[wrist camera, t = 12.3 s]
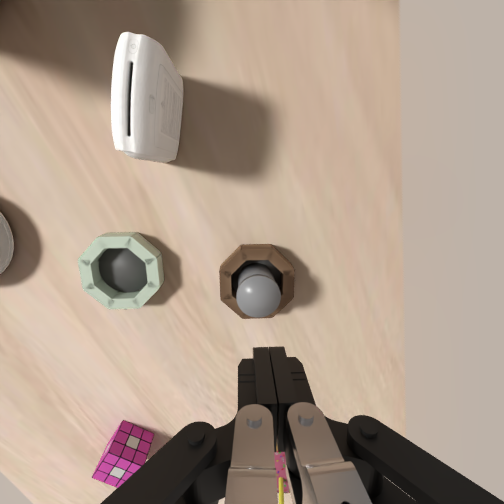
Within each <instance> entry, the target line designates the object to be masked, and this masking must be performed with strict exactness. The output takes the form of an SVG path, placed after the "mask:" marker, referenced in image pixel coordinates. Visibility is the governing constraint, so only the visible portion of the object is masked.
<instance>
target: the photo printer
mask: <svg viewBox="0 0 504 504" xmlns="http://www.w3.org/2000/svg"><path fill="white" fill-rule="evenodd" d="M182 107H183V80H182V77H181V76H180V74H179V73H178V71H177V69H176V68H175V66H174V64H173V63H172V61H171V59H170V57H169V56H168V54H167V52H166V51H165V49H164V47H163V46H162V45H161V44H160V43H159V42H157V41H156V40H154V39H152V38H150V37H148V36H146V35H143V34H134V33H131V32H124V33H122V34H121V35H120V37H119V40H118V43H117V46H116V50H115V56H114V63H113V72H112V86H111V124H112V135H113V140H114V145H115V148H116V150H119V151H123V152H124V153H125V154H127V155H128V156H130V157H132V158H135V159H141V160H148V161H154V162H161V163H166V162H170V161H172V160H175V159H176V156H177V152H178V146H179V139H180V129H181V119H182Z"/></svg>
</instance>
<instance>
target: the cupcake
mask: <svg viewBox="0 0 504 504" xmlns="http://www.w3.org/2000/svg"><path fill="white" fill-rule="evenodd" d="M274 455H275V468H276V478H277V492H278V493H279V504H284V493H290V489H289V485H288V480H287V476H286V458H285V452H278V448H277V447H276V452H274Z"/></svg>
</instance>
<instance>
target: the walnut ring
mask: <svg viewBox="0 0 504 504" xmlns="http://www.w3.org/2000/svg"><path fill="white" fill-rule="evenodd" d="M251 263H261V264H264V265H266V266H267V267H268V268H269V269H270V270H271V271H272V274H273V277H274V280H275V282H276V283H277V285H278V287H279V286H280V288H279V290H280V294H281V300H280V303H279V306H278V307H277V309H276V310H275V311H274V312H273V313H271V314H270V315H268V316H265V317H260V318H272V317H274V316H275V315H276V314H277V313H278V312H279V311H280V310H281V309H282V308H283V307H284V306H286V305H287V304H288V303H289V302H290V301H291V300H292V299H293V298H294V272H295V270H294V268H293V266H292V264H291V263H290V262H289V261H288V260H287V259H286V258H285V257H284V256H283V255H282V254H281V253H280V252H279V251H278V250H277V249H276V248H274V247H273V246H272V245H271V244H249V245H242V246H241V245H240V246H239V247H238V248H237V249H236V250H235V251H234V252H233V253H232V254H231V255H230V256H229V257H228V258H227V259H226V260H225V261H224V262H223V263H222V264H221V266H220V271H219V273H220V297H221V301H222V302H224V303H225V304H226V305H227V306H228V307H229V308H231V309H232V310H233V311H234V312H235V313H236V314H238V315H239V316H240V317H241V318H243V319H250V318H256V317H251V316H248V315H246V314H245V313H244V312H242V311H241V309H240V308H239V306H238V304H237V299H236V296H237V289H238V277H239V273H240V271H241V270H242V269H243V268H244V267H245V266H247V265H248V264H251ZM280 272H281V274H280ZM232 286H233V288H234V290H235V291H234V290H233V289H232Z"/></svg>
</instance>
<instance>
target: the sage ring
mask: <svg viewBox="0 0 504 504" xmlns="http://www.w3.org/2000/svg"><path fill="white" fill-rule="evenodd" d="M100 257H101V258H100ZM99 258H100V260H99ZM78 265H79V271H80V276H81V282H82V287H83V289H84V291H85V292H87V293H88V294H89V295H91V296H92V297H93V298H94V299H96V300H97V301H98V302H100V303H101V304H102V305H104V306H105V307H106V308H108V309H138V308H141V307H142V306H143V305H144V304H145V303H146V302H147V301H148V300H149V298H150V297H151V296H152V295H153V294H154V293H155V292H156V291H157V290H158V289H159V288H160V287H161V285H162V284H163V282H164V272H163V262H162V253H161V252H160V251H159V250H158V249H157V248H155V247H154V246H153V245H152V244H151V243H150V242H148V241H147V240H146V239H145V238H144V237H143V236H141V235H140V234H139V233H137V232H122V233H105V234H103V235H101V236H99V237H97V238H96V239H95V240H94V241H93V243H92V244H91V245H90V246H89V247H88V248H87V249H86V251H85V252H84V253H83V254H82V255H81V256H80V257H79V259H78ZM140 289H141V290H140ZM138 290H140V291H138Z"/></svg>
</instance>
